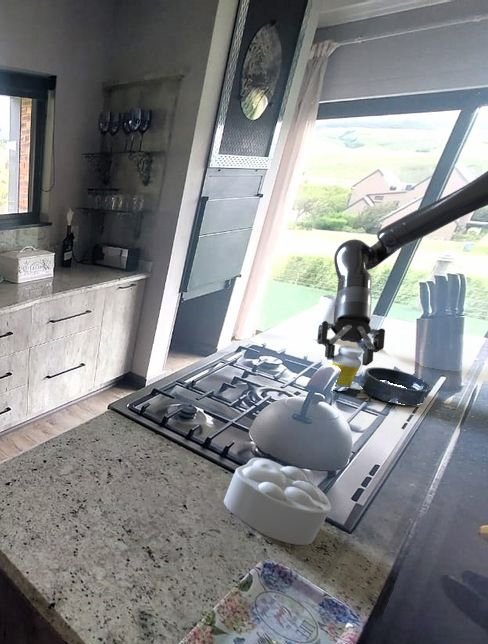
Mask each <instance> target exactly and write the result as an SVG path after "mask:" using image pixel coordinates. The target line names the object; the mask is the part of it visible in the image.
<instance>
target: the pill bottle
mask: <svg viewBox="0 0 488 644" xmlns="http://www.w3.org/2000/svg"><path fill="white" fill-rule="evenodd" d="M337 352H338V353H334V358H333V359H331V360H328V362H327V365H335V366H338V367H339V368H340V369H341V372H340V374H339V378H338V380H337V382H336V385H339V386H340V387H350V388H351V385H352V383H353V381H354V380H355V377H356V375H357V374H358V371H359V370H360V368H361V365H362V361H361V359H360V357H361V356H362V355H363V349H362V348H361V349H360V348H358V347H356V346H351V345H340V346H339V347H338V351H337ZM327 365H326V366H327Z"/></svg>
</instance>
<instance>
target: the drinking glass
mask: <svg viewBox="0 0 488 644" xmlns="http://www.w3.org/2000/svg"><path fill="white" fill-rule="evenodd" d="M336 296H337V295H333V294H331V295H330V294H323V295H321V296H320V298H319V301H318V303H317V305H316V309H315V311H314V314H313V318H312V321H311V323H310V324H311V325H310V327H309V331H308V332H307V338H309V339H311V340H314V341H317V340H318V327H319V325H320V324H321V323H322V322H324V321H327V322H328V323H330V324H333V319H334V308H335V307H334V304H335V299H336ZM330 331H332V330H331V328H330V329H329V330H328V331H327V336H328V335H329V334H330Z"/></svg>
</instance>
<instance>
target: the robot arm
mask: <svg viewBox="0 0 488 644" xmlns="http://www.w3.org/2000/svg"><path fill="white" fill-rule="evenodd" d="M487 206H488V170H487V171H485V172H484V173H482V174H481V175H479V176H478V177H477V178H475V179H474V180H472V181H470V182H469V183H467V184H465V185H463V186H462V187H460V188H458V189H457V190H455V191H453V192H451V193H449V194H447V195H446V196H443V197H442V198H439V199H436V200H435V201H433V202H430V203H428V204H426V205H424V206H422V207H419V208H418V209H415V210H414V211H412V212H410V213H408V214H405V215H404V216H402V217H401V218H398V219H397V220H395V221H393V222H391V223H389V224H388V225H385V226H384V227H382V228H381V229H379V230H378V231H377V234H376V237H377V240H378V241H377V242H375V243H374V244H373V245H371V246H370V245H368V244H367V243H366V242H365V241H363V240H361V239H355V238H353V239H348V240H346V241H344V242H343V243H341V244H340V245H339V246H338V248H337V249H336V251H335V252H334V258H333V261H334V263H333V264H334V268H335V273H336V277H337V289H336V295H335V296H336V299H335V304H334V307H335V308H334V319H333V324H330V323H328V322H327V321H324V322H322V323H321V324H320V325H319V327H318V340H316V341H317V344H318V345H322V346H324V347H325V349H324V357H325V358H326V360H328V361H329V360H331V359H333V358H334V354H335V350H336V345H335V344H336V342H337V341H339V340H340V341H341V342H350V343H356V345H357V346H358V347H360V348H361V350H362V361H361V365H362V366H364V367H366V366H368V365H370V364H372V363H373V361H374V353H379V351H381V350H383V349H384V348H385V336H386V329H385V328H380V329H376V328H372V327H371V326H370V323H371V315H372V299H373V298H372V275H371V274H370V272H369V271H370V270H372V269H374V268H376V267H377V266H379V265H380V264H382V263H383V262H384V261H386V260H387V259H388V258H390V257H391V256H392V255H394V254H395V253H396V252H397V251H399V250H400V249H402V248H405V247H406V246H409V245H411V244H412V243H414V242H416V241H418V240H420V239H422V238H424V237H426V236H428V235H430V234H432V233H434V232H436V231H438V230H439V229H441V228H443V227H445V226H447V225H449V224H451V223H453V222H455V221H457V220H459V219H461V218H463V217H465V216H468V215H470V214H472V213H474V212H476V211H478V210H481V209H482V208H484V207H487ZM330 328H331V330H330V331H332V332H333V333H334V335H333V336H332V337H331V338H330V339H328V335H327V331H328V330H329V329H330ZM369 334H370V335H371V337H370V336H369ZM371 338H372V339H371Z"/></svg>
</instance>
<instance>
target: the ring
mask: <svg viewBox="0 0 488 644" xmlns="http://www.w3.org/2000/svg"><path fill="white" fill-rule="evenodd" d="M360 379H361V380H360ZM360 379H359V381H360V383H359V382H358V383H359V386H361V387H362V388H363V390H364V391H365V392H364V391H363V390H362V391H363V392H364V393H365V394H367V395H369V396H371V397H373V396H374V397H373V398H375V397H376V398H375V399H377V398H378V399H377V400H380V399H381V400H380V401H383V400H384V401H383V402H386V401H387V403H389V402H388V401H390V400H391V399H393V398H397V399H398V400H397V401H398V403H401V404H405V405H404V406H406V405H417V404H420V403H423V402H424V403H425V401H426V400H427V398H428V397H429V395H430V393H431V391H432V390H433V386H432V384H431V383H429V381H427V380H425V379H423V378H422V377H419V376H417V375H414V374H412V373H408V372H405V371H401V370H398V369H393V368H387V367H379V366H378V367H375V366H373V367H367V368H366V369H365V370H364V372H363V373H362V376H361V378H360ZM380 380H387V381H389V382H390V383H393V384H397V385H402V386H404V387H406V388H407V389H406V388H401V387H397V386H394V385H390V384H387V383H384V382H382V381H380ZM359 386H358V387H359ZM424 403H423V404H424Z"/></svg>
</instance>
